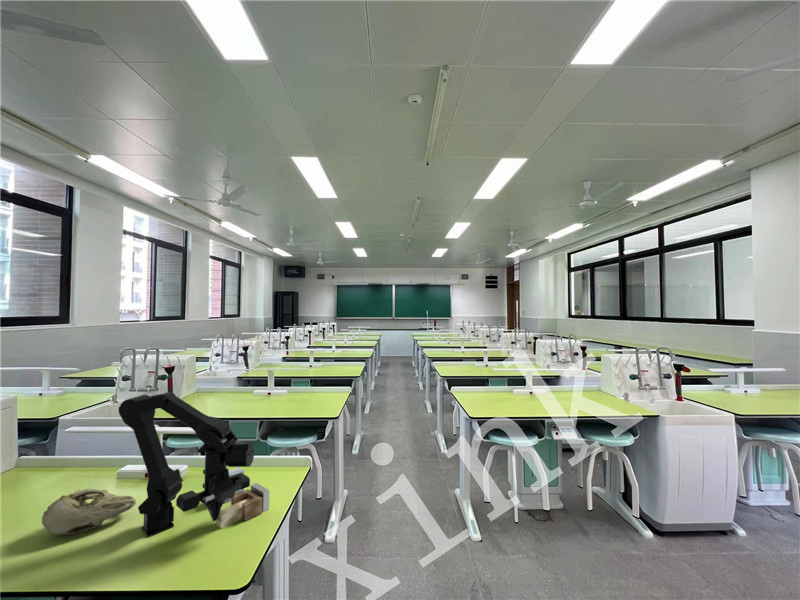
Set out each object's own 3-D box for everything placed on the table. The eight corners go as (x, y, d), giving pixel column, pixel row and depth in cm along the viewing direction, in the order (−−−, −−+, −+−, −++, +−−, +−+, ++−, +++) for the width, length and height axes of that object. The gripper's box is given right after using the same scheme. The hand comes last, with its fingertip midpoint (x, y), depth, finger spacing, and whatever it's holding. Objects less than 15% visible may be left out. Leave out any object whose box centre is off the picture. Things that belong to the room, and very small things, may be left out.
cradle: (245, 520, 104) (245, 505, 104) (230, 510, 109) (231, 495, 109) (262, 512, 108) (262, 497, 108) (247, 503, 114) (247, 489, 114)
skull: (119, 514, 113) (139, 520, 105) (32, 539, 96) (48, 549, 89) (123, 477, 116) (143, 480, 108) (39, 495, 99) (55, 501, 91)
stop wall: (263, 512, 109) (263, 492, 109) (250, 503, 114) (250, 485, 114) (269, 509, 110) (269, 490, 111) (255, 501, 115) (256, 482, 116)
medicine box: (238, 491, 122) (238, 466, 122) (244, 495, 119) (244, 470, 119) (214, 500, 116) (215, 474, 116) (220, 505, 113) (221, 478, 113)
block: (221, 528, 100) (221, 516, 101) (215, 524, 103) (216, 512, 103) (253, 513, 108) (253, 501, 108) (248, 509, 110) (248, 498, 111)
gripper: (192, 486, 89) (190, 548, 89) (259, 462, 104) (258, 515, 103) (176, 474, 96) (174, 531, 96) (241, 453, 111) (240, 503, 110)
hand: (214, 520), depth 101 cm, fingers closed
